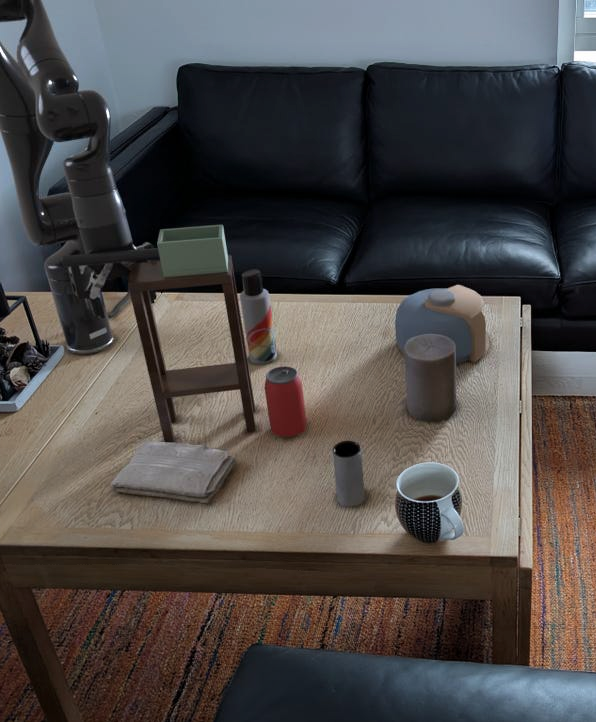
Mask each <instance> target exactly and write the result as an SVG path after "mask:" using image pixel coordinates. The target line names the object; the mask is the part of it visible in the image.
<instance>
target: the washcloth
mask: <svg viewBox="0 0 596 722" xmlns="http://www.w3.org/2000/svg"><path fill="white" fill-rule="evenodd" d="M236 462H237V459H236V457H235V456H233V455H230V453H229V451H228V450H222V449H216V448H212V447H208V445H206V444H187V443H181V442H172V443H167V442H164V441H156V440H147V441H143V442H142V443H141V444H140V445H139V447H138V448H137V449H136V451H135V452H134V453H133V456H132V458H131V459H130V461H129V462H128V464H126V465H124V467H123V468H122V469H121V470H120V471H119V472H118V474H117V475H115V477H114V478H113V480H112V481H111V483H110V489H111V491H112V492H115V493H116V492H117V493H123V494H130V495H131V494H132V495H138V496H148V497H160V498H161V497H162V498H167V499H173V500H181V501H183V502H184V501H186V502H197V503H200V504H209V503H210V501H211V500H212V498H213V496H215V494H216V493H217V492H218V491H219V489H220V488H221V487H222V486H223V483H224V481H225V480H226V479H227V477H228V475H229V474H230V472H231V471H232V469H233V468H234V466H235V465H236Z"/></svg>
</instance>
